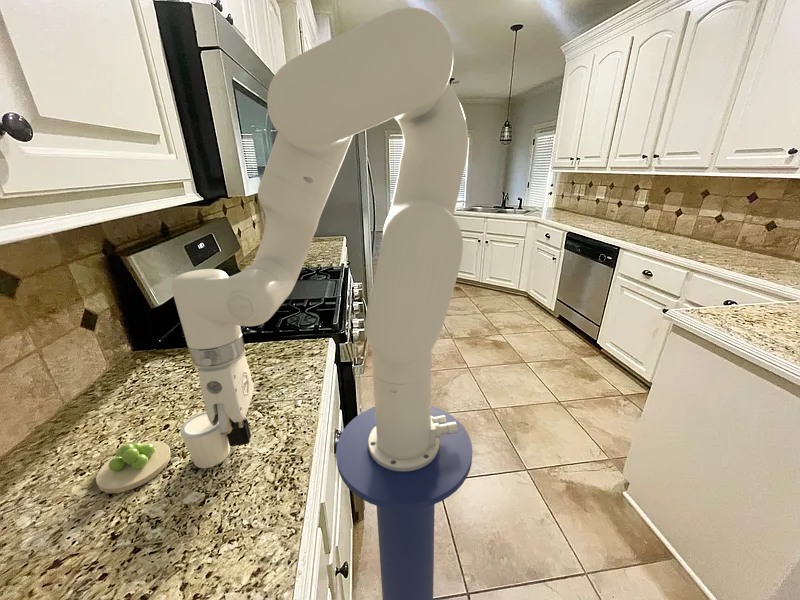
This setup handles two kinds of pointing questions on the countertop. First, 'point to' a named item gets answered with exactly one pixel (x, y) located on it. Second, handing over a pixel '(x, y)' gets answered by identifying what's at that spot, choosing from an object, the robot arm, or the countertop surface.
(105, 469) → the grape dish
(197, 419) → the white ramekin
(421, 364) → the robot arm
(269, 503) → the countertop surface
